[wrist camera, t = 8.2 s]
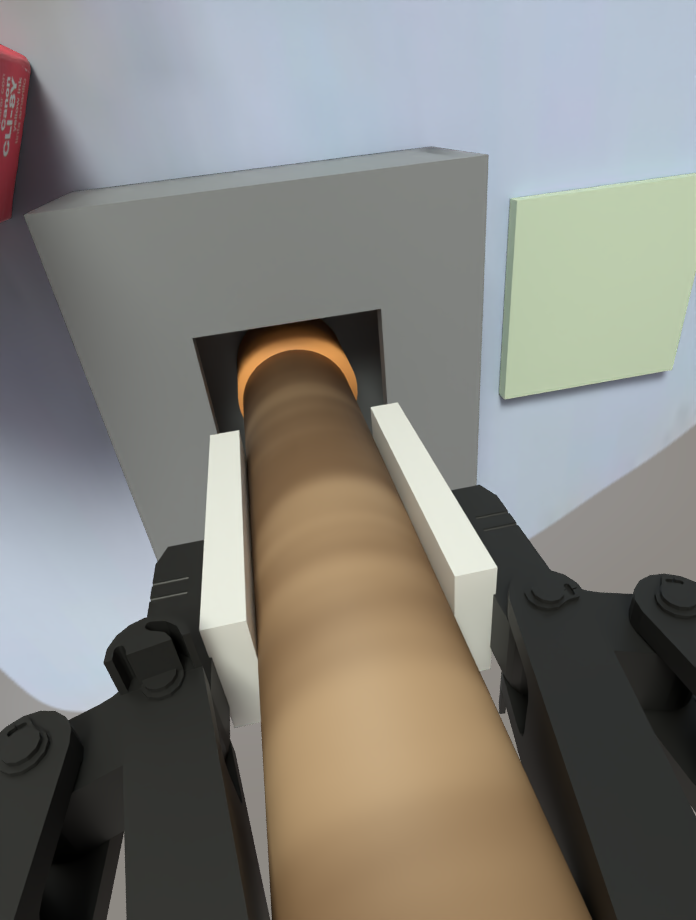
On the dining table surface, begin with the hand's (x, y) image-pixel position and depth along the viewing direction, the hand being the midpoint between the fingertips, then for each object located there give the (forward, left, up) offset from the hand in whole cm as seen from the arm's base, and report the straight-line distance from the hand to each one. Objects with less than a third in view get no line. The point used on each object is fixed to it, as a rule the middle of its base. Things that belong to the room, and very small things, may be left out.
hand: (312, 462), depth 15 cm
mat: (-1, +13, -8) cm, 15 cm away
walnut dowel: (0, 0, -4) cm, 4 cm away
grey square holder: (0, 0, -8) cm, 8 cm away
